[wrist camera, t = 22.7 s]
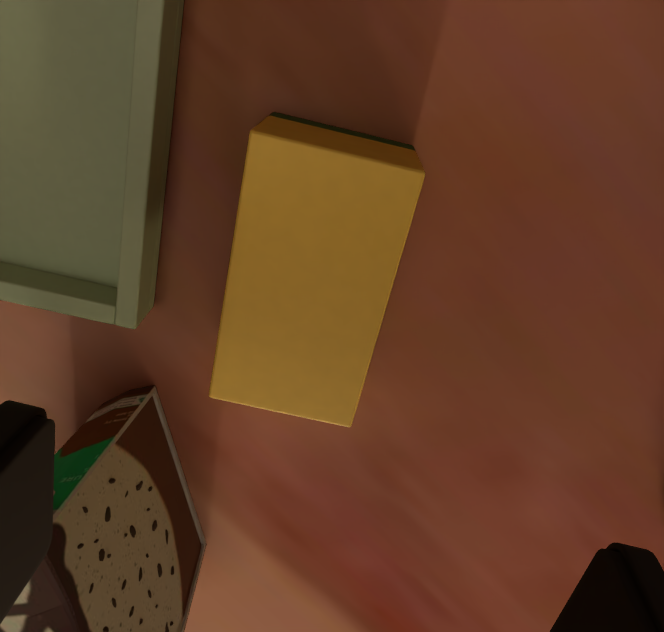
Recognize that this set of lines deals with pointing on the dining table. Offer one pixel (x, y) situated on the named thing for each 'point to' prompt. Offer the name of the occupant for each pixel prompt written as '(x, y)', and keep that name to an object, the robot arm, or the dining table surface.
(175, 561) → the food container
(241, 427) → the dining table surface
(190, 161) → the dining table surface
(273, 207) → the sponge
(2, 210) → the tray
